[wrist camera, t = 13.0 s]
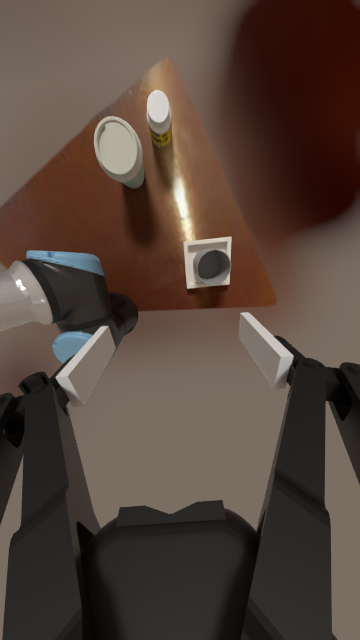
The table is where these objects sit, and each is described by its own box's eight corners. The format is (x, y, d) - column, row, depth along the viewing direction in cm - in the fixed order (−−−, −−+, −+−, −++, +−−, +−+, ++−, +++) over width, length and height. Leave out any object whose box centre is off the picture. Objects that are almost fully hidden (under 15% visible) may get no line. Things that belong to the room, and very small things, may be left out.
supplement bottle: (150, 147, 37) (144, 123, 29) (151, 118, 35) (144, 83, 27) (171, 151, 37) (170, 127, 29) (173, 122, 35) (172, 88, 27)
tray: (186, 286, 51) (187, 288, 49) (183, 241, 45) (183, 241, 43) (227, 282, 51) (229, 284, 49) (228, 237, 45) (231, 236, 43)
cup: (218, 277, 49) (228, 285, 40) (192, 277, 49) (196, 285, 40) (221, 248, 46) (233, 249, 37) (193, 248, 46) (197, 249, 37)
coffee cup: (126, 139, 36) (105, 94, 25) (157, 170, 38) (149, 142, 28) (108, 176, 39) (82, 151, 28) (137, 203, 41) (124, 190, 30)
